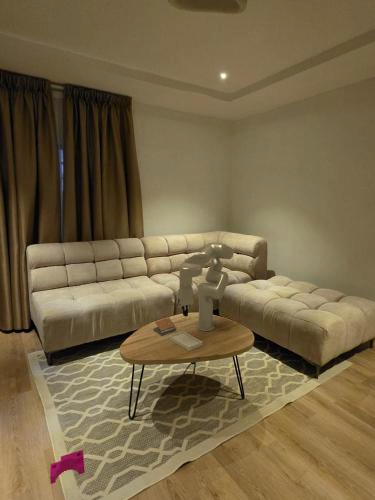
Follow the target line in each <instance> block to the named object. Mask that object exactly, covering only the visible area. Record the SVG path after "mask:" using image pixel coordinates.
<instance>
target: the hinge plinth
mask: <svg viewBox="0 0 375 500" xmlns="http://www.w3.org/2000/svg"><path fill="white" fill-rule="evenodd" d="M153 331H154V332H155V333H157V334H158V335H159V336H161V337H163V336H165V335H168V334H171V333H174V332H176V331H177V326H175V327H174V328H171V329H168V330H165V331H162V332H161V331H160V329H159V328H158V326H157V327H154V328H153Z"/></svg>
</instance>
